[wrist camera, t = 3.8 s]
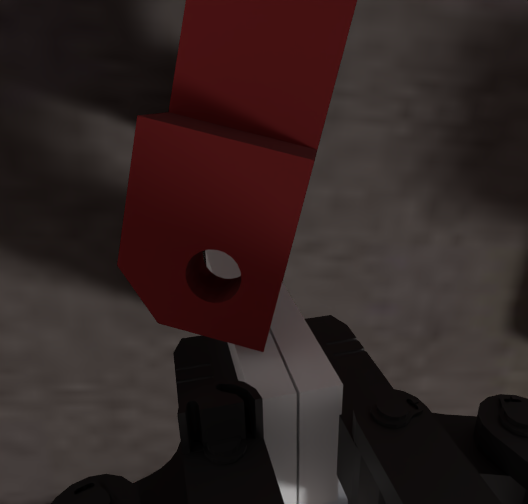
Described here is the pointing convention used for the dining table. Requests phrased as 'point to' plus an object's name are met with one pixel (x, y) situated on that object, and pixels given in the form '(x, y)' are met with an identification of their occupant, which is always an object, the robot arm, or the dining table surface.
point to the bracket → (230, 161)
